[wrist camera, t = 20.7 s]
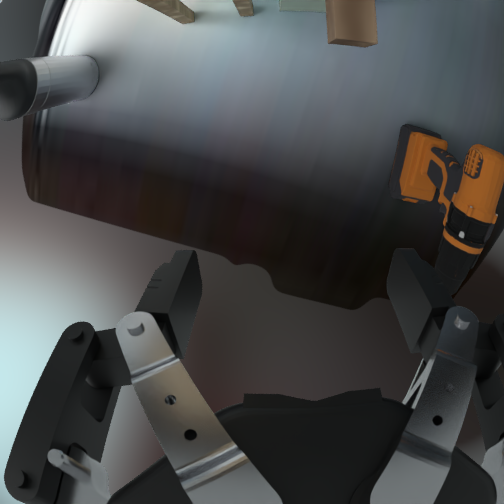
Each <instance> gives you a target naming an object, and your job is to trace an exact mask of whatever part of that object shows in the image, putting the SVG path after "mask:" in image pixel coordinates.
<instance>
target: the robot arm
mask: <svg viewBox="0 0 504 504" xmlns="http://www.w3.org/2000/svg"><path fill="white" fill-rule="evenodd" d="M98 78H99V70H98V66H97V63H96V62H95V61H94V59H92V58H91V57H89V56H85V55H68V56H47V57H35V58H25V59H16V60H10V61H4V62H0V119H1V120H4V121H10V120H14V119H17V118H20V117H22V116H25V115H28V114H31V113H34V112H37V111H41V110H44V109H48V108H51V107H55V106H58V105H62V104H66V103H70V102H74V101H79V100H82V99H85V98H86V97H88V96H89V95H90V94H91V93H92V92H93V91H94V89H95V87H96V85H97V82H98ZM387 292H388V295H389V297H390V300H391V302H392V305H393V307H394V310H395V312H396V315H397V317H398V320H399V322H400V325H401V328H402V330H403V333H404V336H405V338H406V341H407V344H408V347H409V350H410V352H411V353H418V352H421V353H422V355H423V360H422V362H421V364H420V366H419V368H418V371H417V373H416V375H415V378H414V380H413V382H412V384H411V386H410V389H409V391H408V393H407V395H406V397H405V399H404V401H403V402H402V403H401V402H399V401H396V400H393V399H389V398H384V397H382V395H381V390H380V388H375V389H366V390H357V391H348V392H345V393H342V394H338V395H335V396H332V397H328V398H325V399H322V400H318V401H310V400H305V399H300V398H294V397H290V396H285V395H280V394H244V401H243V403H239V404H235V405H232V406H229V407H226V408H224V409H221V410H219V411H218V412H216V413H213V412H212V410H211V409H210V408H209V406H208V405H207V403H206V402H205V400H204V399H203V397H202V396H201V394H200V393H199V391H198V389H197V388H196V386H195V385H194V383H193V381H192V380H191V378H190V377H189V375H188V373H187V372H186V370H185V369H184V367H183V365H182V363H181V362H180V360H179V359H184V356H185V352H186V348H187V345H188V341H189V338H190V334H191V331H192V327H193V323H194V320H195V317H196V313H197V309H198V306H199V302H200V299H201V295H202V280H201V275H200V270H199V264H198V259H197V254H196V251H194V250H183V251H176V252H175V254H174V256H173V258H172V260H171V262H170V263H164V264H162V265H161V266H160V267H159V268H158V269H157V270H156V271H155V272H154V274H153V276H152V278H151V281H150V282H149V284H148V286H147V288H146V290H145V292H144V294H143V296H142V298H141V300H140V302H139V304H138V306H137V308H136V310H135V312H133V313H131V314H128V315H126V316H125V317H123V318H122V319H121V320H120V321H119V322H118V324H117V326H116V328H113V329H108V330H102V331H95V330H94V328H93V326H92V325H91V324H90V323H88V322H77V323H74V324H72V325H70V326H69V327H68V328H66V329H65V331H64V332H63V333H62V335H61V337H60V339H59V341H58V343H57V345H56V346H55V349H54V350H53V352H52V354H51V356H50V358H49V361H48V362H47V365H46V366H45V369H44V371H43V373H42V375H41V377H40V379H39V381H38V384H37V386H36V388H35V390H34V393H33V395H32V397H31V399H30V402H29V405H28V407H27V409H26V411H25V414H24V416H23V419H22V422H21V424H20V427H19V430H18V432H17V435H16V438H15V441H14V444H13V447H12V450H11V453H10V456H9V459H8V462H7V466H6V469H5V474H4V481H5V485H6V488H7V490H8V492H9V493H10V494H11V495H12V497H14V498H15V499H16V500H19V501H21V502H23V503H25V504H504V388H503V385H502V382H501V380H500V377H499V374H498V372H497V369H498V368H499V366H500V365H501V364H502V365H503V368H504V314H500V315H498V316H497V317H496V319H495V320H494V322H493V324H488V323H482V322H478V319H477V317H476V316H475V315H474V314H473V313H472V312H471V311H470V310H468V309H466V308H464V307H459V306H456V304H455V302H454V301H453V299H452V297H451V296H450V294H449V292H448V291H447V289H446V287H445V286H444V284H442V281H441V279H440V278H439V277H438V275H437V273H436V271H435V270H434V268H433V267H432V266H431V265H429V264H428V263H427V262H426V261H424V260H421V259H420V257H419V256H418V254H417V253H416V251H415V250H414V249H413V248H397V249H396V250H395V251H394V254H393V259H392V263H391V267H390V271H389V275H388V278H387ZM131 384H133V386H134V389H135V391H136V394H137V396H138V398H139V400H140V403H141V405H142V407H143V409H144V412H145V414H146V416H147V418H148V420H149V422H150V424H151V426H152V428H153V430H154V433H155V435H156V437H157V439H158V440H159V442H160V444H161V446H162V448H163V450H164V452H165V455H164V456H163V457H161V458H160V459H159V460H158V461H156V462H155V463H154V464H153V465H151V466H150V467H149V468H147V469H146V470H145V471H144V472H142V473H141V474H140V475H138V476H137V477H136V478H134V480H132V481H130V482H129V483H128V484H126V485H125V486H124V487H122V488H121V489H119V490H118V491H117V492H116V493H114V494H113V495H112V496H111V494H110V492H109V489H108V486H109V485H108V474H107V471H106V469H105V468H104V467H103V466H102V465H101V464H100V462H101V458H102V454H103V450H104V446H105V442H106V438H107V434H108V431H109V427H110V423H111V419H112V416H113V412H114V409H115V406H116V402H117V399H118V395H119V392H120V389H121V386H123V385H131ZM471 394H472V398H473V401H474V404H475V408H476V411H477V415H478V419H479V422H480V426H481V431H482V435H483V439H484V444H485V449H486V454H485V457H484V463H483V464H482V465H481V466H480V465H478V464H477V463H476V462H475V461H473V460H472V459H471V458H470V457H469V456H467V455H466V454H465V453H464V452H462V451H461V450H460V449H459V448H458V447H456V446H455V443H456V440H457V437H458V435H459V432H460V429H461V426H462V423H463V420H464V417H465V413H466V410H467V407H468V403H469V399H470V396H471Z"/></svg>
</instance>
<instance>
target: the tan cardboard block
mask: <svg viewBox="0 0 504 504" xmlns="http://www.w3.org/2000/svg"><path fill="white" fill-rule="evenodd" d="M325 5H326V18H327V35H328V44H339V45H349V46H358V47H368V46H372V45H375V44H378V41H377V23H376V10H375V0H325Z"/></svg>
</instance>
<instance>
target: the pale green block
mask: <svg viewBox="0 0 504 504" xmlns="http://www.w3.org/2000/svg"><path fill="white" fill-rule="evenodd" d="M279 5H280V11H308V12H324V13H326V5H325V0H279Z"/></svg>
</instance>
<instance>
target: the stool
mask: <svg viewBox="0 0 504 504" xmlns="http://www.w3.org/2000/svg"><path fill="white" fill-rule="evenodd" d="M137 1H139V2H141V3H143V4H145V5H147V6H149V7H151V8H153V9H155V10H157V11H159V12H161V13H163V14H165V15H167V16H169V17H171V18H173V19H174V20H176V21H178V22H180V23H182V24H185V23H191V22H194V12H193V11H192V10H191V9H189V8H188V7H187V6H186V5H184V4H183V3H182V2H180V1H179V0H137ZM233 2H234V4H235V6H236V8H237V10H238V12H239V14H240V16H241V17H242V16H254V15H253V4H252V0H233Z"/></svg>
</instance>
